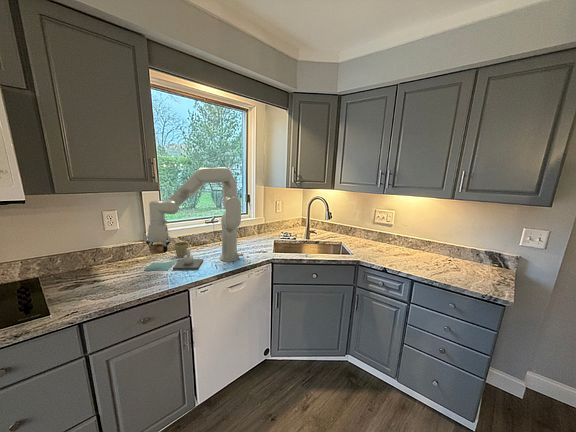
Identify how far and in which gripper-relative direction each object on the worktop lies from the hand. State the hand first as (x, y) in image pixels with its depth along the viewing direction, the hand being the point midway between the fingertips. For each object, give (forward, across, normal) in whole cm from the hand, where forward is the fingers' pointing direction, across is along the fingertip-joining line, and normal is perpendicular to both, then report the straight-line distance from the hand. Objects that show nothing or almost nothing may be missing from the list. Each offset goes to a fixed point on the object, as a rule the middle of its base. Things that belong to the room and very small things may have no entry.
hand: (158, 251), depth 142 cm
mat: (+9, 0, 0) cm, 9 cm away
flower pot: (+9, -7, -19) cm, 22 cm away
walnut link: (0, 0, 0) cm, 0 cm away
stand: (+9, -16, -2) cm, 19 cm away
